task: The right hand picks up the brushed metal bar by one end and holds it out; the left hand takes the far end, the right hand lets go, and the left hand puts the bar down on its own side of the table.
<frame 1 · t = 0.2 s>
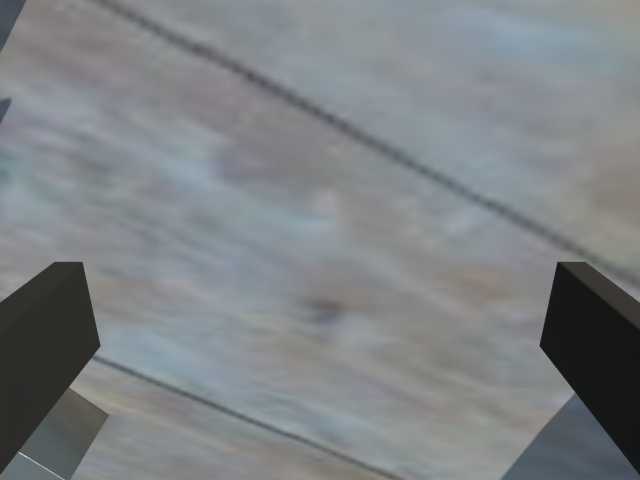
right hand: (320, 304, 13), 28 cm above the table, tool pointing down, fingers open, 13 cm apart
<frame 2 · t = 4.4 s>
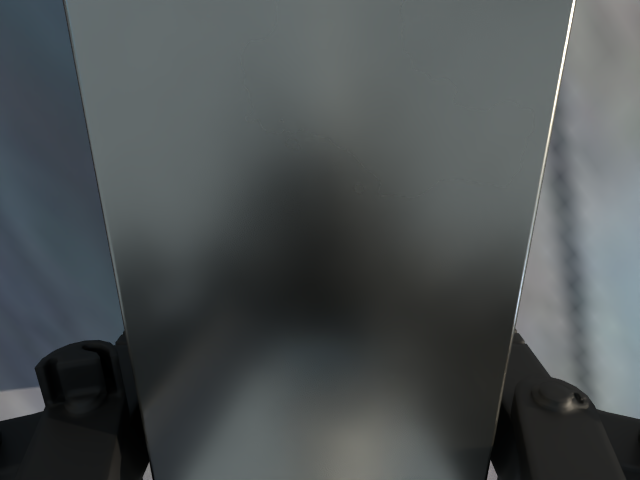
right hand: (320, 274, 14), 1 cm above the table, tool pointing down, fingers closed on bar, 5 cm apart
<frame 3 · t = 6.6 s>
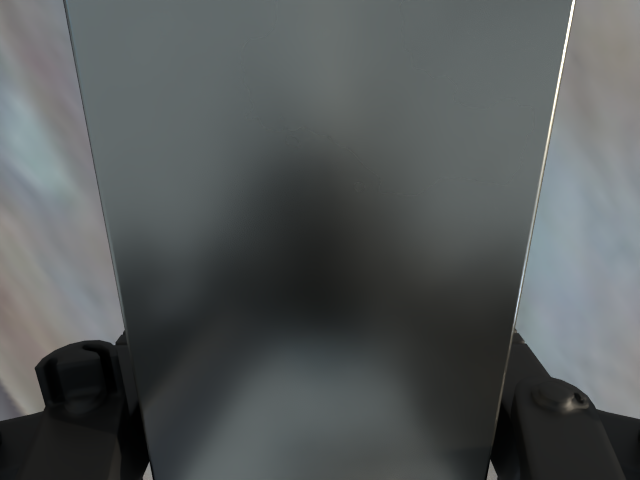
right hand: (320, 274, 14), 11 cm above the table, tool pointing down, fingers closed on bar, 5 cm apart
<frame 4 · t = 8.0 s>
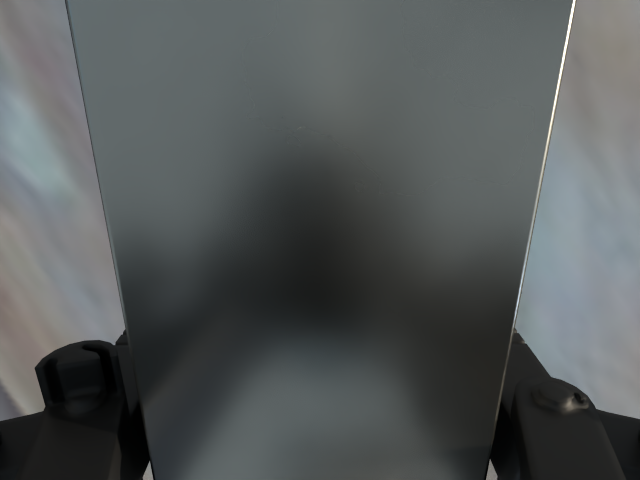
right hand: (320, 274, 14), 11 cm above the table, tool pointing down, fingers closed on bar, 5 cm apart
when the right hand's fingers open (11 cm above the table, at t = 9.0 s): bar stays where it is, held by the left hand.
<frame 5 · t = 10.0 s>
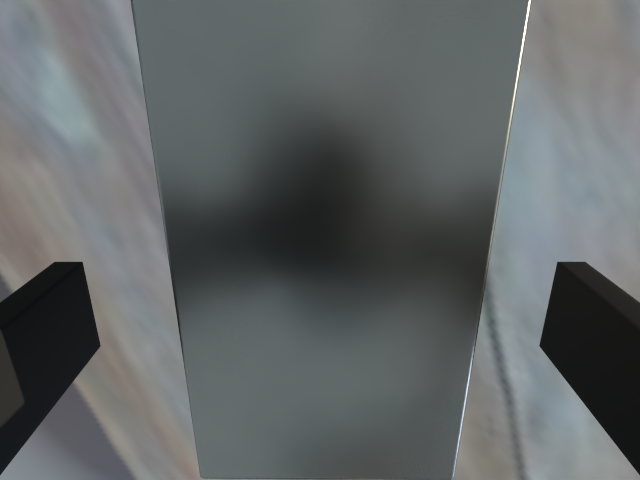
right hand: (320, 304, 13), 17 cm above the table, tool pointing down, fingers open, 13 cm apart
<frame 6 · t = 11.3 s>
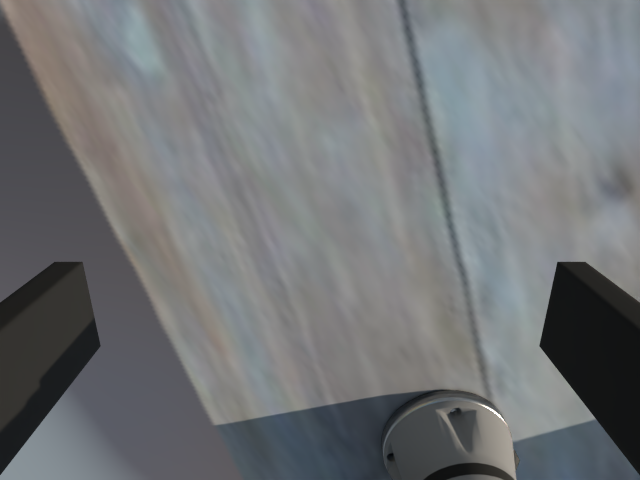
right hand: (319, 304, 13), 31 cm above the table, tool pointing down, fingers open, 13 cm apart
when the left hand's fingers open (5 cm above the table, at t = 14.5 s): bar stays where it is, on the table.
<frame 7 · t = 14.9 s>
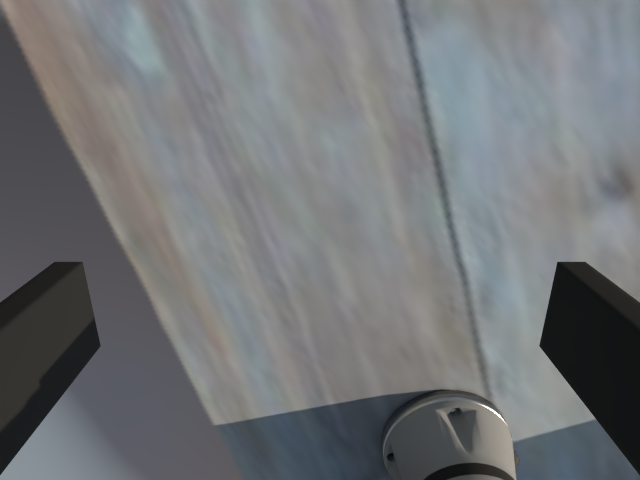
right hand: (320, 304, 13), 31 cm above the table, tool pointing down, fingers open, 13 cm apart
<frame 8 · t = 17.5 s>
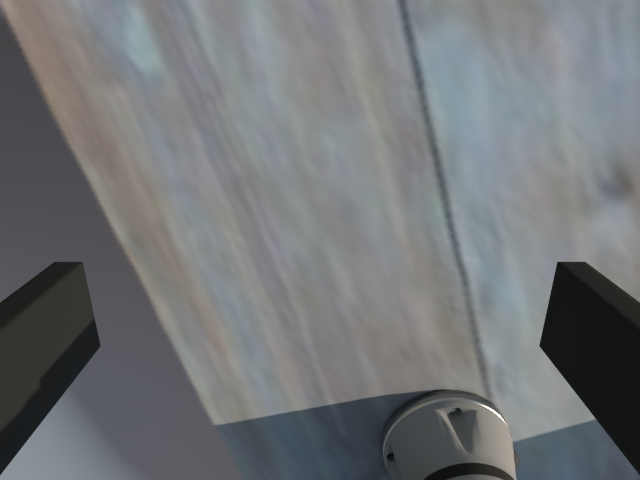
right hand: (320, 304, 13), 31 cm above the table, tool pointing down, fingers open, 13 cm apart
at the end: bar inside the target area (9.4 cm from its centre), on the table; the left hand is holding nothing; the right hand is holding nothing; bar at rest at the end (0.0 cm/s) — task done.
